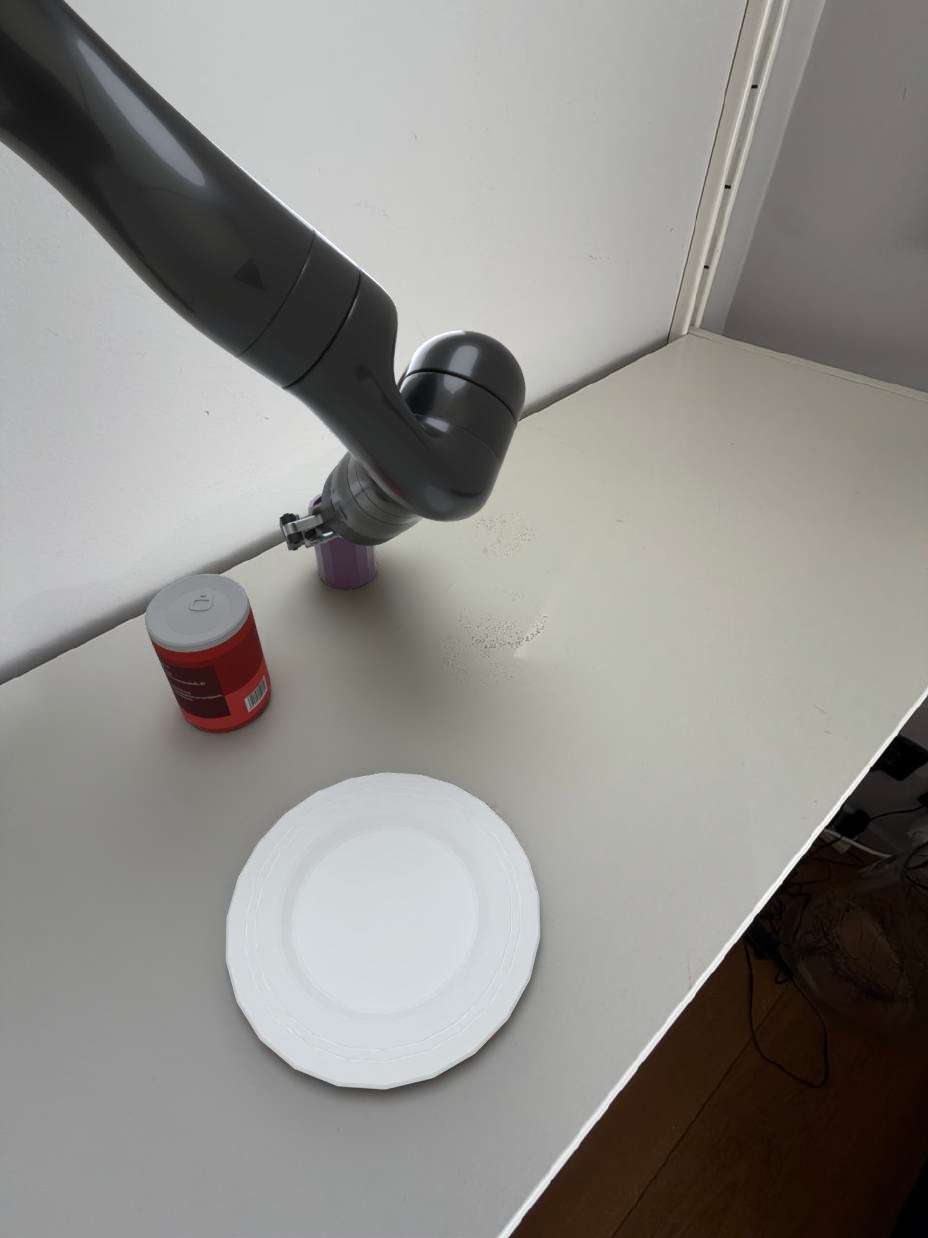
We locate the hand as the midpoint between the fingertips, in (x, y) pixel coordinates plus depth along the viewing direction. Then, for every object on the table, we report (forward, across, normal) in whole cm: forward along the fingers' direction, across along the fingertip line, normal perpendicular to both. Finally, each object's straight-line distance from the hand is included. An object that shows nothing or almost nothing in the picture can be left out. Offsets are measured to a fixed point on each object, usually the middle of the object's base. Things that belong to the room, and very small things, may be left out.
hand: (337, 527), depth 72 cm
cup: (+2, 0, +4) cm, 5 cm away
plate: (-22, +12, +29) cm, 38 cm away
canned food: (-5, +16, +12) cm, 20 cm away
